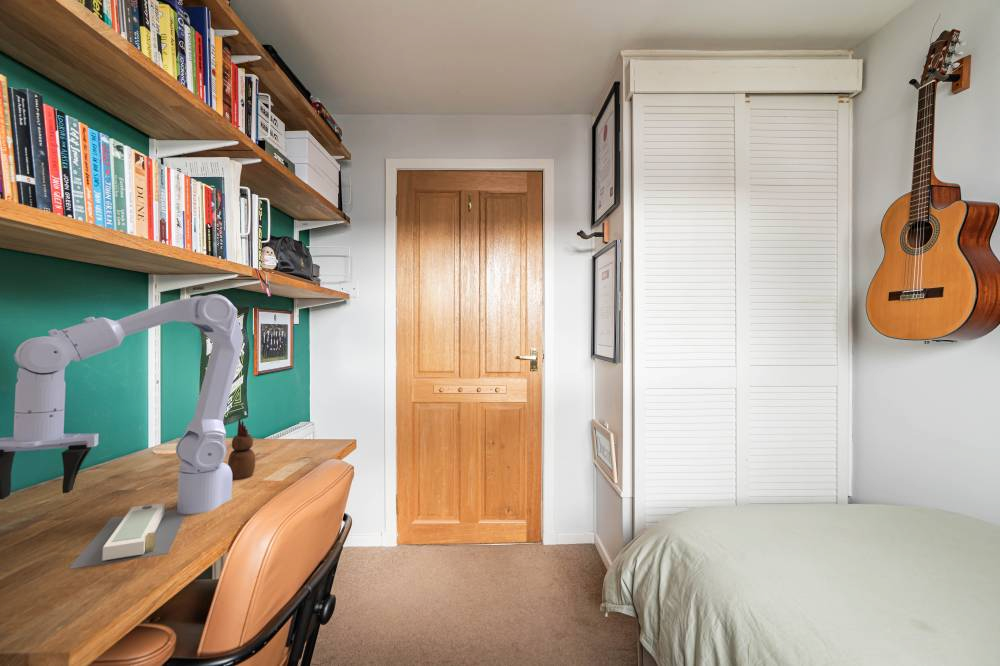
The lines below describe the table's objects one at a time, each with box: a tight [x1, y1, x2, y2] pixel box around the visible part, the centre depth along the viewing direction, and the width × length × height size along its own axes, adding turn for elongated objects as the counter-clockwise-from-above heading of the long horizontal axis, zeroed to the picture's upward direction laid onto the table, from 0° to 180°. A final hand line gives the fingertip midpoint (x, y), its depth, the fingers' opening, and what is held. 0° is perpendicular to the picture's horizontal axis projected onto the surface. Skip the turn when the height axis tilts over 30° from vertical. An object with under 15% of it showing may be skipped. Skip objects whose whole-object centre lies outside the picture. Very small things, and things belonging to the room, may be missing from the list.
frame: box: [102, 502, 166, 561], centre depth 78 cm, size 18×5×2 cm, turn 28°
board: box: [68, 508, 187, 570], centre depth 78 cm, size 21×12×4 cm, turn 27°
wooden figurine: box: [227, 418, 256, 480], centre depth 112 cm, size 7×6×15 cm
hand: (36, 494), depth 73 cm, fingers open, 7 cm apart
